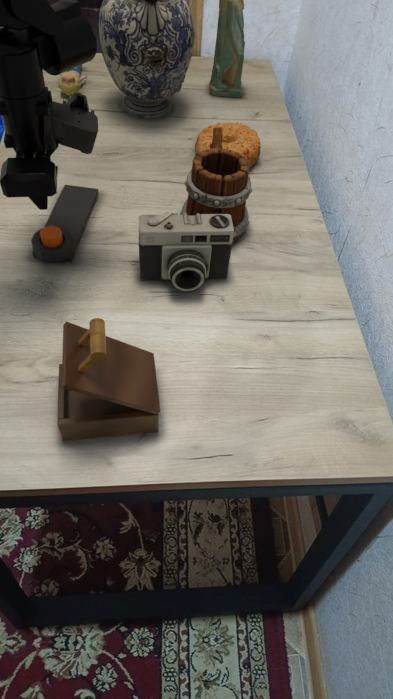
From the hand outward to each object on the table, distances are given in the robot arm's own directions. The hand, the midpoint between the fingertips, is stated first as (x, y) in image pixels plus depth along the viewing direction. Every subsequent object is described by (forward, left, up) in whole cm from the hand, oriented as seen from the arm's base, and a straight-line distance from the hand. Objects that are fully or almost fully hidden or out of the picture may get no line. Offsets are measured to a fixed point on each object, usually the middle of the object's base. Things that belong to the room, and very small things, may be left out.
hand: (44, 200), depth 70 cm
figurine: (+2, +57, -10) cm, 58 cm away
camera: (+19, -7, -10) cm, 23 cm away
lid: (+8, -29, -2) cm, 30 cm away
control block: (+2, +7, -10) cm, 13 cm away
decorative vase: (+18, +46, -10) cm, 51 cm away
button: (0, 0, -7) cm, 7 cm away
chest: (+7, -29, -10) cm, 31 cm away
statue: (+37, +53, -10) cm, 66 cm away
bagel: (+32, +26, -10) cm, 43 cm away
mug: (+26, +7, -10) cm, 29 cm away
